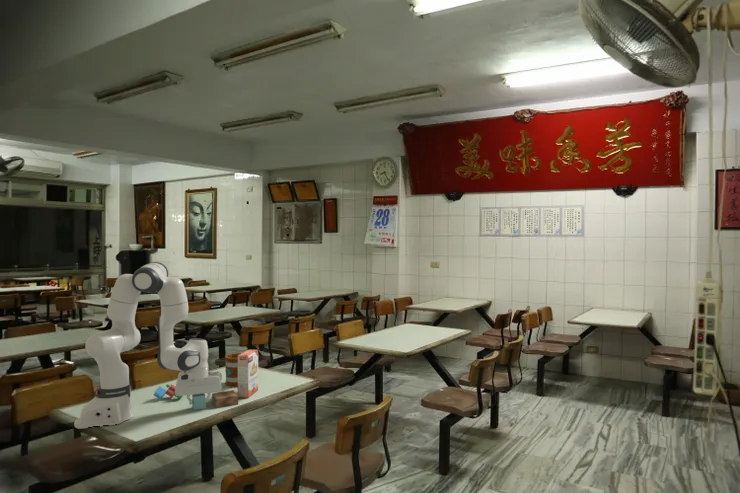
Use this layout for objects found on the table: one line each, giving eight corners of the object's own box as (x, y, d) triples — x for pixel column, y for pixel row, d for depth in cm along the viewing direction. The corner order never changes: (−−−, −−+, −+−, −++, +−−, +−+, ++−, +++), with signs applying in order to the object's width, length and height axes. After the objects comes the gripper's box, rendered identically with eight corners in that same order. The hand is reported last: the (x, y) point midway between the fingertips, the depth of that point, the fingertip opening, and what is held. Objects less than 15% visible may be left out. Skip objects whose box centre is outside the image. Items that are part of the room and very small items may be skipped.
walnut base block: (216, 407, 225) (216, 399, 225) (212, 401, 234) (211, 393, 234) (238, 404, 230) (238, 395, 230) (233, 398, 239) (233, 390, 239)
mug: (220, 383, 265) (219, 355, 265) (243, 378, 274) (242, 351, 274) (237, 391, 250) (237, 361, 250) (260, 385, 259) (260, 357, 259)
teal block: (193, 410, 222) (193, 397, 222) (192, 407, 226) (192, 394, 226) (205, 408, 224) (205, 395, 224) (203, 405, 229) (203, 392, 229)
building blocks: (173, 408, 239) (152, 395, 238) (184, 395, 245) (164, 382, 244) (176, 403, 233) (154, 389, 233) (187, 389, 239) (166, 375, 239)
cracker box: (249, 398, 238) (248, 355, 238) (237, 398, 239) (236, 355, 239) (259, 389, 252) (258, 349, 252) (248, 389, 253) (247, 349, 253)
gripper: (221, 369, 232) (222, 398, 232) (175, 373, 225) (175, 403, 225) (222, 372, 226) (222, 402, 226) (174, 377, 219) (175, 408, 219)
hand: (198, 403), depth 225 cm, fingers closed on teal block, 5 cm apart
